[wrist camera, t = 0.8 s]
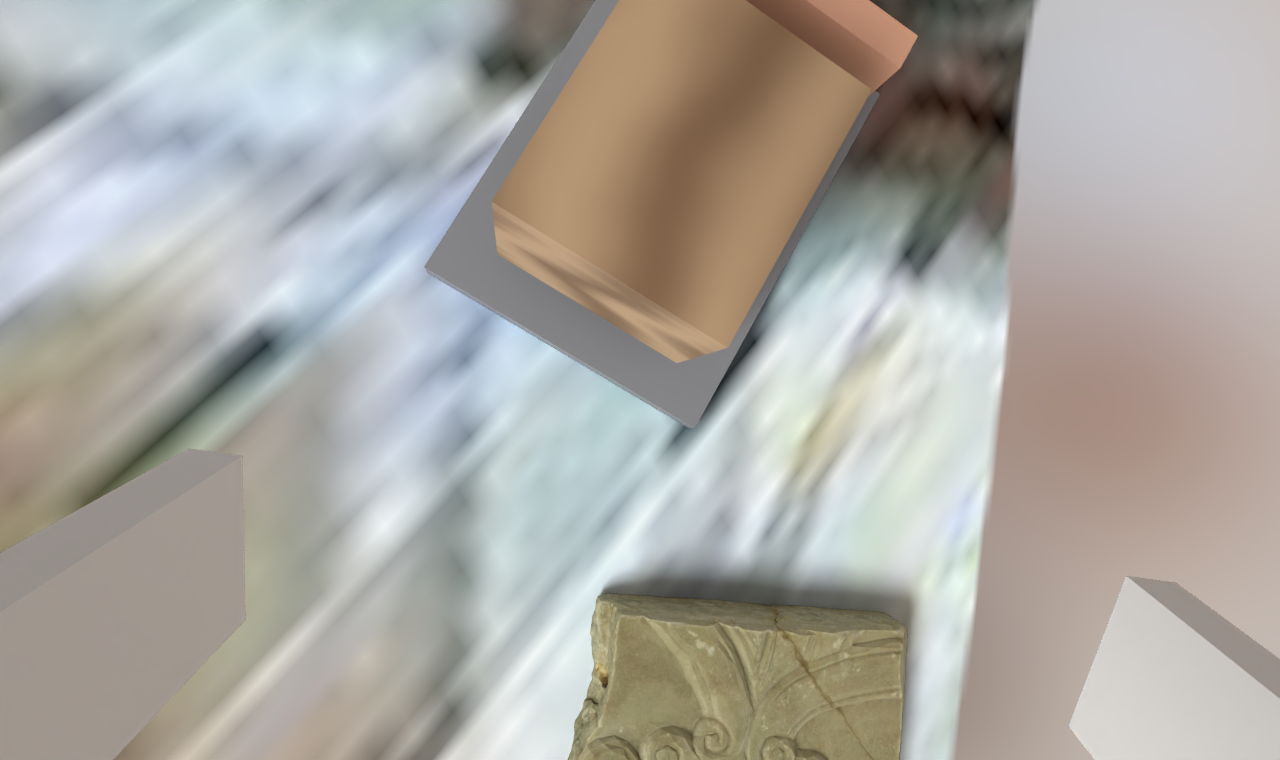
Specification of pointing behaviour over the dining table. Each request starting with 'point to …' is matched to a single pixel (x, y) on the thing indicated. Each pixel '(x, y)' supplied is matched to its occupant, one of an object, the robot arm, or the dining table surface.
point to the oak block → (676, 168)
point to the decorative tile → (740, 682)
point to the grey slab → (468, 261)
